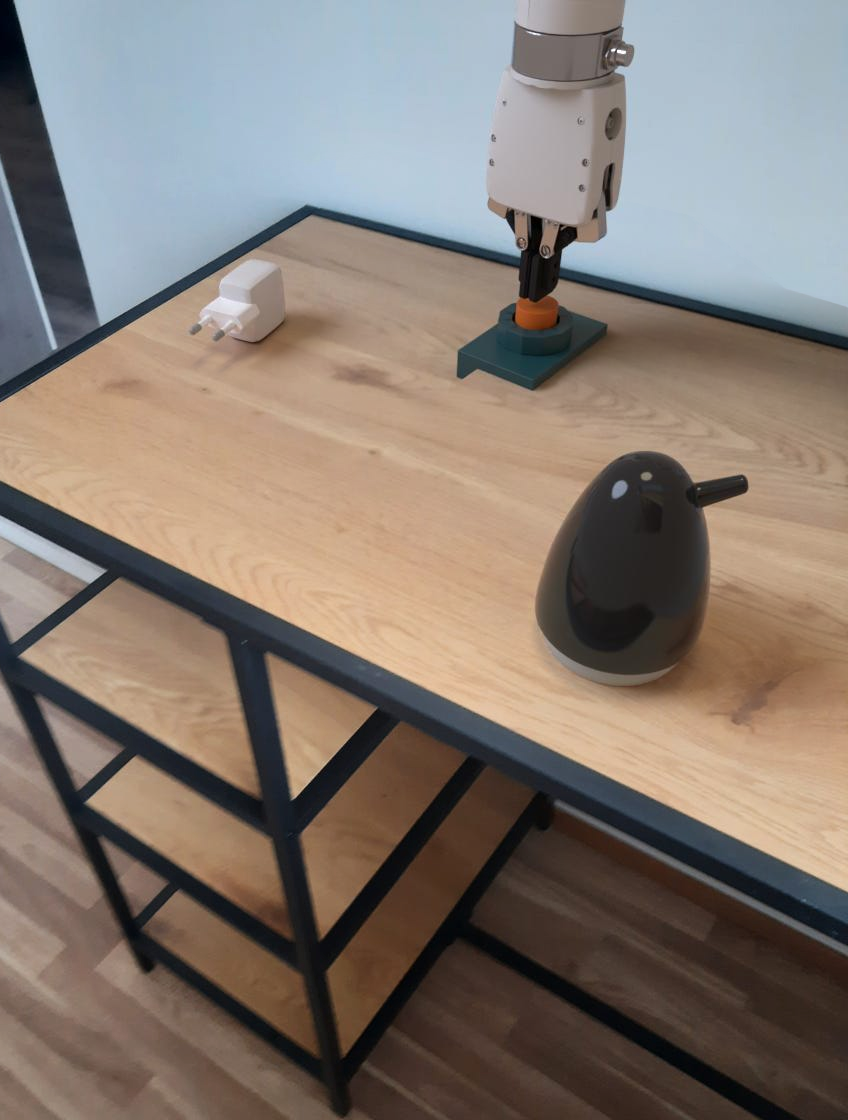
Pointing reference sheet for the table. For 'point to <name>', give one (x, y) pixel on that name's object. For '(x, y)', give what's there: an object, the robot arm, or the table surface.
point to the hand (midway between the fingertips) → (536, 293)
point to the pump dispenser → (631, 571)
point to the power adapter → (246, 303)
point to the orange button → (536, 313)
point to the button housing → (529, 348)
